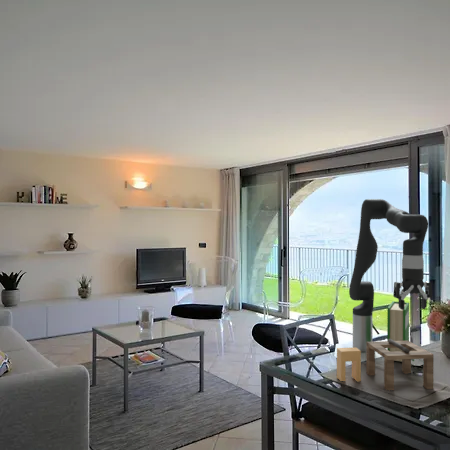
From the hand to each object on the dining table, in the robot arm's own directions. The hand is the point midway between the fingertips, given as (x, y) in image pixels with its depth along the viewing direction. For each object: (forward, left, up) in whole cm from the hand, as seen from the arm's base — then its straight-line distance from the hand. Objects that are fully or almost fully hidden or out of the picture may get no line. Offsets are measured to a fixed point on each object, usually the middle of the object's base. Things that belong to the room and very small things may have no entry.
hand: (412, 309), depth 160 cm
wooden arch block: (-8, -22, -29) cm, 37 cm away
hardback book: (-32, +12, -30) cm, 45 cm away
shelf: (-5, -3, -29) cm, 30 cm away
